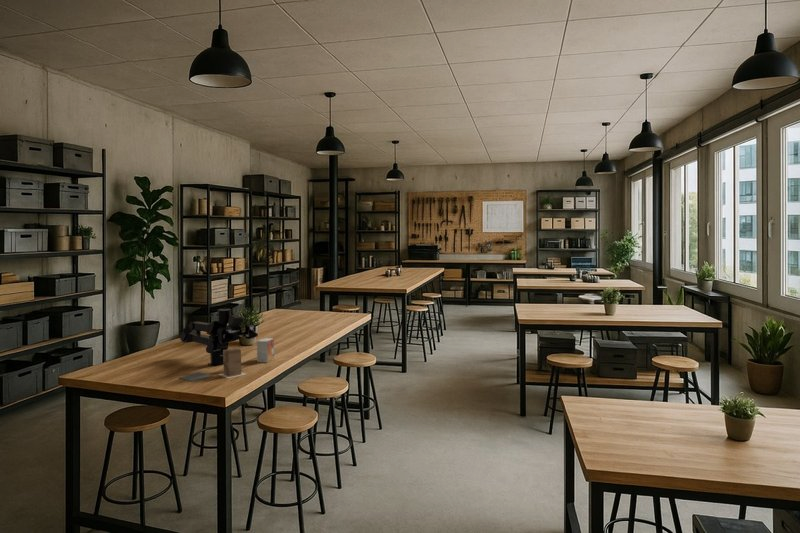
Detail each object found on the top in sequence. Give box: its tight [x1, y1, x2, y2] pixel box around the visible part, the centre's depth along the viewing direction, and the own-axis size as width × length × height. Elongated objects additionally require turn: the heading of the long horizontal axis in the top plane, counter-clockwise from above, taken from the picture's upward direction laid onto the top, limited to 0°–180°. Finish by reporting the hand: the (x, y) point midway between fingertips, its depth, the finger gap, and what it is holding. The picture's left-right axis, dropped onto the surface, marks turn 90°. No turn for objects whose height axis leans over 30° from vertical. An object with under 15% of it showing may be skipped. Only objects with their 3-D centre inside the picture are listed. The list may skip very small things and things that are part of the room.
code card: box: [218, 371, 247, 379], centre depth 232 cm, size 9×9×1 cm
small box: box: [256, 337, 275, 363], centre depth 257 cm, size 8×6×10 cm
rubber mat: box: [178, 372, 214, 383], centre depth 227 cm, size 10×10×1 cm
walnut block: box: [223, 347, 243, 377], centre depth 231 cm, size 6×6×11 cm
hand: (249, 336), depth 235 cm, fingers open, 9 cm apart
